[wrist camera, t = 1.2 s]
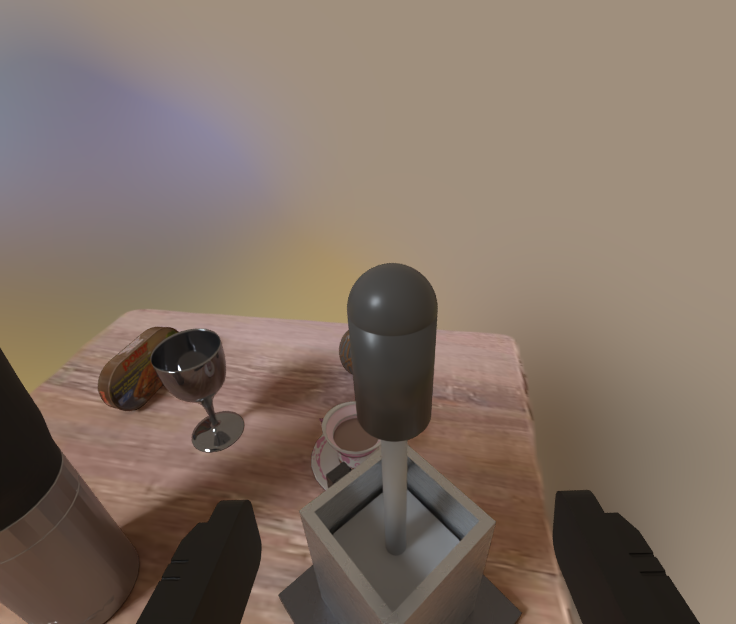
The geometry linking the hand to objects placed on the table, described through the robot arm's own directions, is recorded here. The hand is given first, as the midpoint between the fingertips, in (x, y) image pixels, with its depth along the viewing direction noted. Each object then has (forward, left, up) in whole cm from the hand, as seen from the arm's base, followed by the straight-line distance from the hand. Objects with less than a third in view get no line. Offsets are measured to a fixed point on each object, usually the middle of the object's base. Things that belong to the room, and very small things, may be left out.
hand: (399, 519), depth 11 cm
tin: (-55, -1, -35) cm, 66 cm away
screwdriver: (-7, +7, -23) cm, 25 cm away
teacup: (-23, +15, -35) cm, 44 cm away
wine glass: (-39, +3, -35) cm, 53 cm away
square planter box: (-7, +7, -35) cm, 36 cm away
